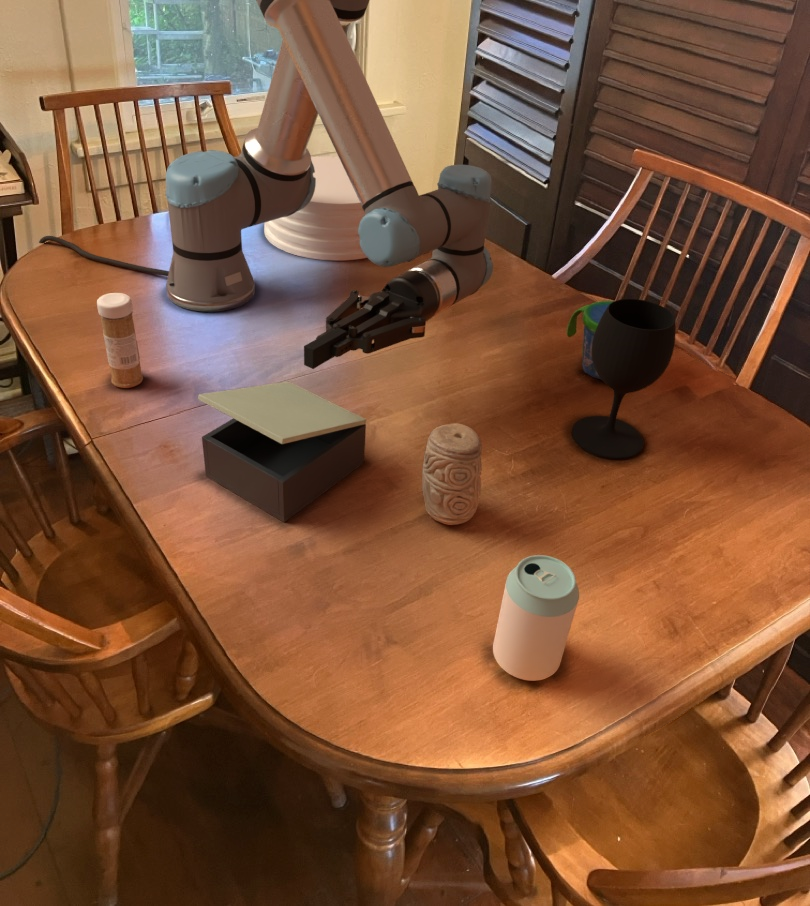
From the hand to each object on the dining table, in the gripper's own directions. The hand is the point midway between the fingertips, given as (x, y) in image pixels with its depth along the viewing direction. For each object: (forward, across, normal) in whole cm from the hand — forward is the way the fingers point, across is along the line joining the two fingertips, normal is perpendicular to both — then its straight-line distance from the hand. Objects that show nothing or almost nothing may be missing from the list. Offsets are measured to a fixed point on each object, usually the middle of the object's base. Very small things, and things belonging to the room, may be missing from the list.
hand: (308, 357), depth 99 cm
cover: (+4, 0, -6) cm, 7 cm away
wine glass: (-31, -30, -15) cm, 45 cm away
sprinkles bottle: (+4, +32, -15) cm, 36 cm away
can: (+11, -40, -15) cm, 44 cm away
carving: (-2, -21, -15) cm, 26 cm away
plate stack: (-60, +47, -15) cm, 78 cm away
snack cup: (-48, -21, -15) cm, 55 cm away
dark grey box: (+4, 0, -15) cm, 16 cm away
